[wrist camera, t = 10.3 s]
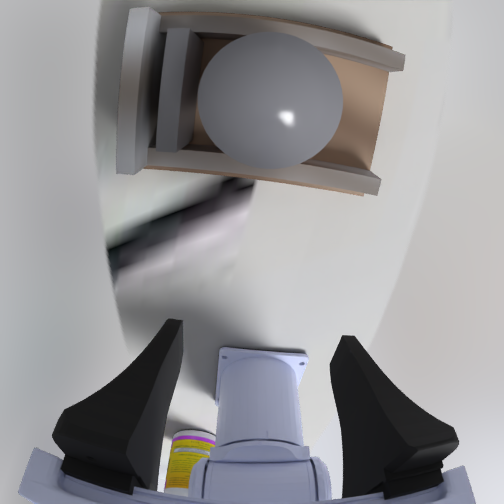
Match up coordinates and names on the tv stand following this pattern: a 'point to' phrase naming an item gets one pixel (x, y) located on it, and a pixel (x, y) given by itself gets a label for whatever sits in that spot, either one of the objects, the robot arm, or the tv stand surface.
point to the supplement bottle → (186, 458)
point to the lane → (201, 147)
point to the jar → (270, 100)
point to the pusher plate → (178, 89)
